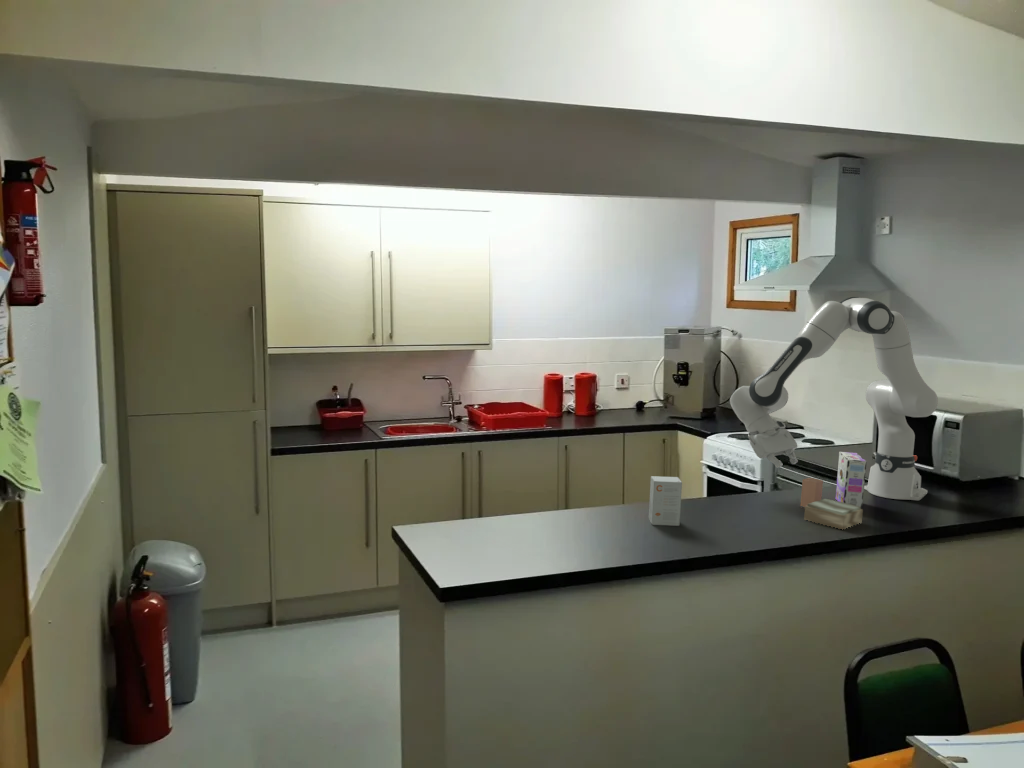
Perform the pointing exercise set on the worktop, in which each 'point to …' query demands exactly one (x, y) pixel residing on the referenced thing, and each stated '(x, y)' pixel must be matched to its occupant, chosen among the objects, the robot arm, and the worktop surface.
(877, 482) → the robot arm
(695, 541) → the worktop surface
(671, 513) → the small box
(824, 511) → the birch plinth
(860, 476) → the candy box
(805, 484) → the terracotta block
